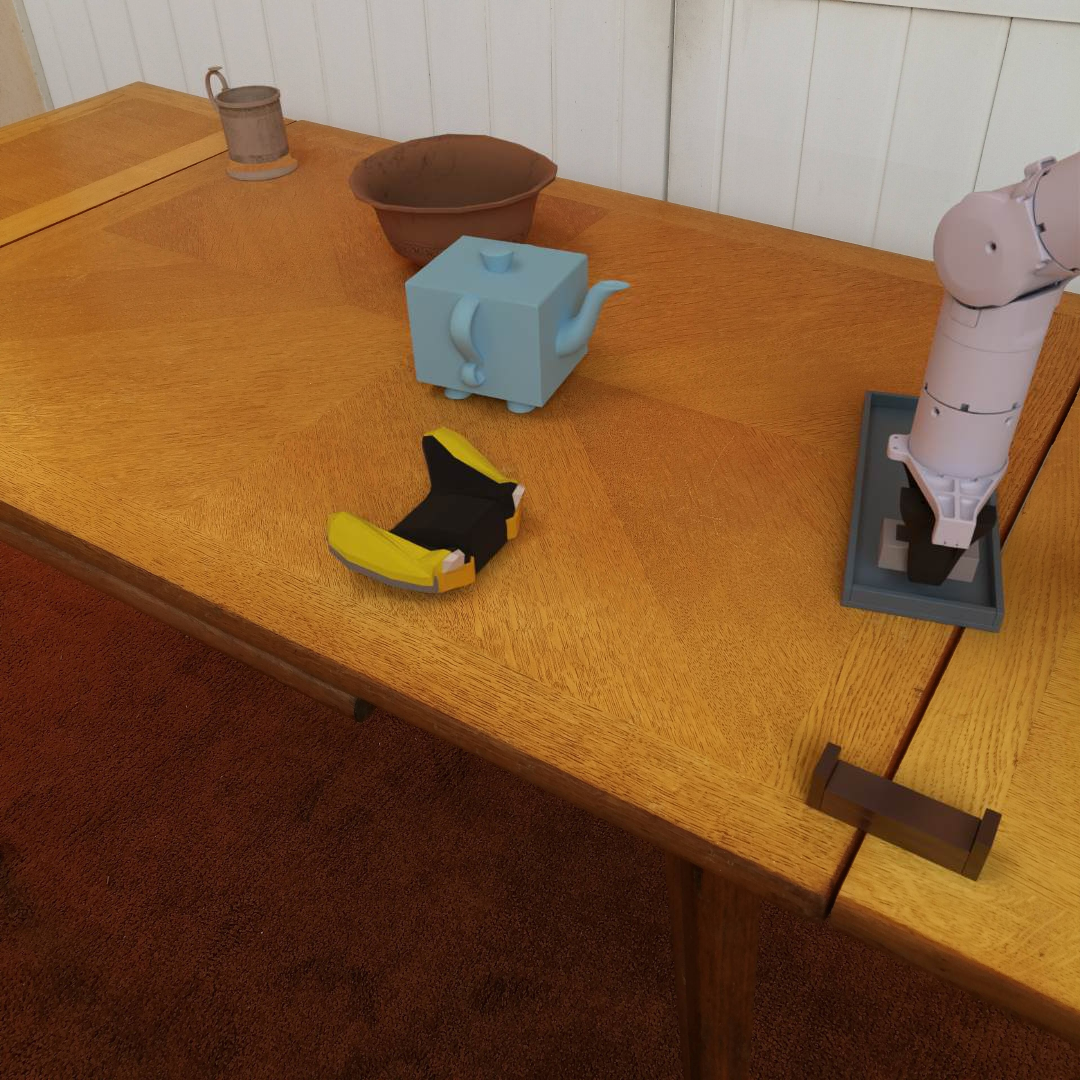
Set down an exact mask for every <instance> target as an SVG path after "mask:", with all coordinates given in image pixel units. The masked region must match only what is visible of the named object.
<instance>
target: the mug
mask: <svg viewBox="0 0 1080 1080" xmlns="http://www.w3.org/2000/svg"><path fill="white" fill-rule="evenodd" d="M207 70H208V71H207V73H205V77H204V84H205V90H206V94H207V97H208V99H209V101H210V104H211V105H212V107H213V109H214V110H215V111H216V113H217V114H219V116H220V121H221V125H222V130H223V135H224V138H225V143H226V147H227V152H228V156H229V157H230V159H231V160H232V161H235V162H238V163H242V164H260V163H267V162H273V161H276V160H278V159H281V158H282V157H284V156H286V155H287V154H288V153H289V150H290V147H289V141H288V136H287V131H286V125H285V120H284V114H283V110H282V109H283V108H282V104H281V99H280V98H281V91H280V89H279V88H278V87H274V86H271V85H263V84H259V85H257V84H255V85H245V86H237V87H232V88H231V87H229V85H228V81H227V79H226V78H225V76H224V75H223V74H222V72H220V70H223V66H212V67H211V66H210V67H208V68H207ZM212 75H215V76H216V77H217V78H218V79H219V81H220V83H221V86H222V88H221V91H220V92H218V93H217V94H216V95H215V96H214V93H213V89H212V86H211V76H212ZM297 163H298V165H297ZM297 163H295V164H296V165H294V164H293V165H294V166H295V167H293V166H292V167H286V168H287V169H286V168H285V167H284V169H283V168H281V167H279V168H280V169H279V168H278V169H271V170H267V171H262V172H261V171H258V172H244V171H238V170H237V172H236V171H235V172H232V171H233V169H231V171H230V169H229V172H230V173H231V174H230V173H229V172H226V171H225V174H226V175H227V176H228V177H229V178H231V179H234V180H237V181H246V182H247V181H248V182H249V181H250V182H251V181H252V182H253V181H254V182H256V181H267V180H273V179H277V178H280V177H284V176H286V175H290V174H291V173H293V172H295V171H296V170H297V169H298V168H299V166H300V165H299V160H297ZM296 166H297V167H296ZM234 170H235V169H234ZM227 173H229V174H227Z"/></svg>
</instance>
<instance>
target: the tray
mask: <svg viewBox="0 0 1080 1080" xmlns="http://www.w3.org/2000/svg"><path fill="white" fill-rule="evenodd" d="M919 397H920V395H911V394H902V393H896V392H895V393H894V392H886V391H878V390H869V389H865V394H864V399H863V403H862V409H861V419H860V428H859V437H858V445H857V454H856V464H855V470H854V481H853V488H852V489H853V490H852V497H851V507H850V517H849V525H848V533H847V543H846V551H845V552H846V553H845V561H844V570H843V578H842V586H841V595H840V606H843V607H848V608H854V609H859V610H865V611H870V612H876V613H882V614H886V615H887V614H888V615H892V616H893V615H894V616H900V617H905V618H911V619H916V620H922V621H927V622H928V621H929V622H933V623H939V624H945V625H949V626H950V625H952V626H955V627H956V626H957V627H962V628H968V629H973V630H980V631H985V632H991V633H996V634H997V633H998V634H999V631H1000V629H1001V626H1002V623H1003V620H1004V619H1005V615H1006V613H1005V598H1004V597H1005V596H1004V584H1003V583H1004V582H1003V570H1002V569H1003V568H1002V567H1003V565H1002V554H1001V540H1000V524H999V523H1000V522H999V508H998V496H997V494H998V492H997V487H996V488H995V490H994V491H993V493H992V494H991V496H990V497H989V499H988V500H987V502H986V503H985V505H991V506H996V513H997V521H996V524H995V526H994V527H993V529H992V530H991V532H990V533H988V534H986V535H985V536H983V537H981V538H980V539H978V547H979V562H978V565H977V568H976V571H975V574H974V577H973V580H972V582H965V581H959V580H953V579H947V578H946V580H945V581H944V582H943V583H942V584H941V586H933V585H927V584H921V583H915V582H910V581H909V580H908V572H904V571H898V570H892V569H886V568H880V567H878V566H877V565H878V552H879V539H880V535H881V531H882V527H883V523H884V519H885V518H887V519H894V520H901V521H903V519H902V516H901V512H900V491H901V487H907V488H909V483H908V478H907V474H906V471H905V468H904V466H903V463H902V461H897V460H892V459H890V458H889V457H888V456H887V446H888V441H889V437H890V436H891V435H894V434H900V435H908V434H910V433H911V430H912V426H913V421H914V417H915V413H916V409H917V405H918V401H919Z"/></svg>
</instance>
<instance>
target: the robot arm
mask: <svg viewBox="0 0 1080 1080" xmlns="http://www.w3.org/2000/svg"><path fill="white" fill-rule="evenodd" d="M1023 173H1024V178H1023V179H1022V180H1021V181H1019V182H1016V183H1013V184H1010V185H1005V186H1002V187H1000V188H996V189H993V190H990V191H989V190H981V191H974V192H969V193H968V194H966V195H965V196H964V197H963V198H962V199H961V201H960V202H957V203H956V204H955V205H953V206H952V207H950V209H948V210H947V212H946V213H945V214H944V215H943V216H942V218H941V220H940V221H939V222H938V225H937V227H936V230H935V233H934V236H933V237H934V238H933V244H932V258H933V264H934V268H935V271H936V274H937V276H938V279H939V281H940V283H941V284H942V286H943V287H944V293H943V298H942V301H941V304H940V309H939V310H940V311H939V313H938V318H937V322H936V326H935V329H934V335H933V338H932V342H931V348H930V351H929V355H928V358H927V363H926V367H925V371H924V375H923V381H922V384H921V389H920V393H919V396H920V397H919V401H918V405H917V409H916V413H915V417H914V421H913V426H912V430H911V433H910V434H908V435H900V434H894V435H891V436H890V437H889V441H888V446H887V456H888V457H889V458H890V459H892V460H897V461H902V463H903V466H904V468H905V471H906V474H907V478H908V483H909V488H907V487H901V491H900V512H901V516H902V519H903V521H904V524H905V526H906V529H907V533H908V541H909V545H908V563H907V572H908V580H909V581H910V582H915V583H921V584H927V585H933V586H941V584H942V583H943V582H944V581H945V580H946V578H947V577H948V575H949V574H950V572H951V571H952V569H953V568H954V566H955V565H956V563H957V562H958V560H959V559H960V558H961V556H962V555H963V554H964V552H965V551H966V550H967V549H968V548H969V547H970V546H971V545H972V544H973V543H974V542H976V541H977V540H978V539H980V538H981V537H983V536H985V535H986V534H988V533H990V532H991V530H992V529H993V527H994V526H995V524H996V521H997V513H996V506H991V505H985V503H986V502H987V500H988V499H989V497H990V496H991V494H992V493H993V491H994V490H995V488H996V489H997V487H998V485H999V484H1000V482H1001V481H1002V480H1003V478H1004V477H1005V475H1006V473H1007V470H1008V466H1009V463H1010V462H1009V461H1010V457H1009V452H1010V448H1011V446H1012V442H1013V439H1014V436H1015V434H1016V433H1015V432H1016V429H1017V427H1018V423H1019V420H1020V417H1021V414H1022V412H1023V408H1024V405H1025V402H1026V399H1027V395H1028V392H1029V389H1030V386H1031V383H1032V380H1033V377H1034V373H1035V371H1036V368H1037V365H1038V361H1039V358H1040V354H1041V351H1042V347H1043V346H1044V342H1045V339H1046V336H1047V333H1048V330H1049V325H1050V324H1051V321H1052V317H1053V315H1054V310H1055V308H1057V307H1059V305H1060V301H1061V298H1062V296H1063V293H1064V291H1065V288H1066V287H1067V285H1068V284H1069V283H1070V282H1071V281H1072V280H1074V279H1076V278H1077V277H1080V151H1078V152H1075V153H1073V154H1071V155H1069V156H1067V157H1064V158H1062V159H1059V160H1057V158H1056V157H1055V156H1052V155H1051V156H1047V157H1044V158H1039V159H1038V160H1035V161H1034V162H1031V163H1029V164H1028V165H1026V166H1025V167H1024V168H1023Z"/></svg>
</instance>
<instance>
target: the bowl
mask: <svg viewBox="0 0 1080 1080" xmlns="http://www.w3.org/2000/svg"><path fill="white" fill-rule="evenodd" d="M558 168H559V167H558V165H557V164H556V163H554V162H553V160H551V159H550V158H548V157H547V156H546V155H543V154H542V153H539V152H537V151H535V150H533V149H531V148H529V147H526V146H524V145H523V144H520V143H517V142H513V141H509V140H506V139H503V138H498V137H495V136H490V135H488V134H487V135H486V134H467V133H464V134H463V133H443V134H439V135H432V136H425V137H421V138H415V139H411V140H407V141H404V142H401V143H397V144H396V145H392V146H389V147H386V148H383V149H380V150H378V151H376V152H374V153H373V154H371V155H369V156H367V157H366V158H364V159H361V161H358V162H357V163H356V164H355V166H354V168H353V170H352V172H351V173H350V176H349V177H348V178H347V179H348V181H347V182H348V185H349V187H350V189H351V191H352V193H353V196H354V198H355V200H357V201H359V202H362V203H364V204H366V205H369V206H370V207H372V209H373V211H374V213H375V215H376V217H377V219H378V220H377V221H378V222H379V225H380V227H381V230H382V231H383V233H384V235H385V237H386V239H387V242H388V243H389V246H390V247H391V248H392V249H393V251H394V252H395V253H396V254H397V255H399V256H400V257H402V258H404V259H406V260H408V261H410V262H412V263H413V264H415V265H418V266H420V270H421V269H423V268H424V267H425V266H426V265H427V264H429V263H430V262H431V261H432V260H433V259H435V258H436V257H437V256H438V255H440V254H441V253H442V252H443V251H445V250H446V249H447V248H448V247H450V246H451V245H452V244H453V243H455V242H456V241H457V240H458V239H460V238H461V237H462V236H470V237H477V238H484V239H491V240H497V241H504V242H511V243H517V244H525V242H526V241H527V239H528V237H529V234H530V232H531V227H532V223H533V219H534V216H535V212H536V206H537V201H538V196H539V194H540V192H541V191H543V190H544V189H546V188H547V187H548V186H550V185H551V184H552V183H554V182H555V181H556V177H557V174H558Z"/></svg>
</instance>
